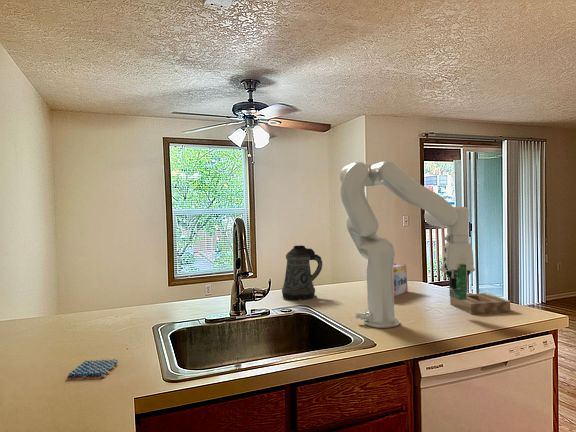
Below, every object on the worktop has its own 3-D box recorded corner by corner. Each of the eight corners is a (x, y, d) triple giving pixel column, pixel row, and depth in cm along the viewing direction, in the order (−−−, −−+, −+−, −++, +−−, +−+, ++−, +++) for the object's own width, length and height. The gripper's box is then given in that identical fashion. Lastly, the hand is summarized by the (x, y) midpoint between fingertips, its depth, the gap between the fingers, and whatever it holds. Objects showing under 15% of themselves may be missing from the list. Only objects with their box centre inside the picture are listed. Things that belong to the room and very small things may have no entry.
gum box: (395, 289, 202) (394, 263, 202) (409, 291, 197) (408, 264, 197) (369, 297, 185) (368, 269, 185) (384, 300, 180) (383, 270, 179)
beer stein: (276, 295, 197) (274, 246, 197) (310, 291, 205) (309, 243, 205) (290, 302, 182) (288, 248, 182) (326, 296, 190) (325, 245, 190)
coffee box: (448, 295, 151) (448, 261, 151) (455, 295, 152) (455, 261, 152) (459, 300, 143) (459, 264, 143) (466, 300, 144) (467, 264, 144)
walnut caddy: (471, 314, 151) (470, 303, 151) (450, 304, 167) (450, 294, 167) (510, 311, 153) (510, 300, 153) (485, 302, 169) (485, 292, 169)
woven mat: (120, 364, 114) (120, 357, 114) (104, 380, 103) (104, 373, 103) (84, 366, 114) (84, 359, 114) (64, 382, 103) (64, 375, 103)
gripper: (441, 240, 143) (441, 290, 143) (484, 240, 144) (484, 290, 144) (432, 239, 150) (432, 286, 150) (472, 238, 152) (472, 286, 152)
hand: (457, 287), depth 147 cm, fingers closed on coffee box, 3 cm apart
